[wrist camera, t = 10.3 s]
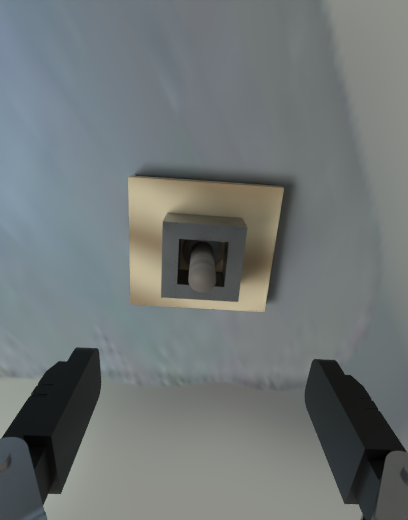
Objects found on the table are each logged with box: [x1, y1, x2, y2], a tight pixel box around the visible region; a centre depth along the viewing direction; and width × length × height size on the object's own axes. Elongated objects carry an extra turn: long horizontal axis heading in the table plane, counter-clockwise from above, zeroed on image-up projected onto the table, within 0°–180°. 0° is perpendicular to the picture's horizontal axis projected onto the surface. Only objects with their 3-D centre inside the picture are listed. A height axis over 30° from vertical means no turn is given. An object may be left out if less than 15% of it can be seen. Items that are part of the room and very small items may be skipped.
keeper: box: [128, 176, 284, 312], centre depth 23 cm, size 11×12×7 cm
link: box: [161, 213, 247, 302], centre depth 24 cm, size 6×6×3 cm
